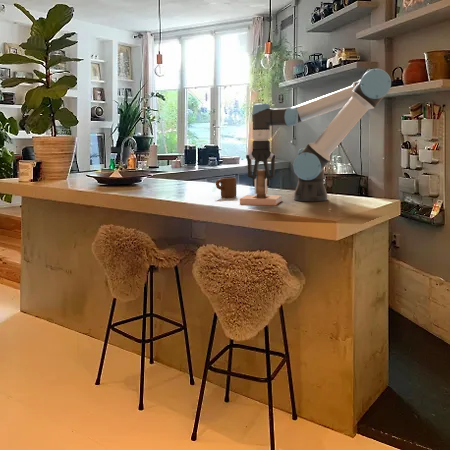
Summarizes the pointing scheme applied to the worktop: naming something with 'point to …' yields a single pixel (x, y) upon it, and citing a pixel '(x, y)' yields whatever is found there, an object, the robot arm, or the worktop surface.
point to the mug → (227, 187)
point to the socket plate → (261, 200)
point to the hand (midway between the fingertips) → (261, 193)
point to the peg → (261, 183)
